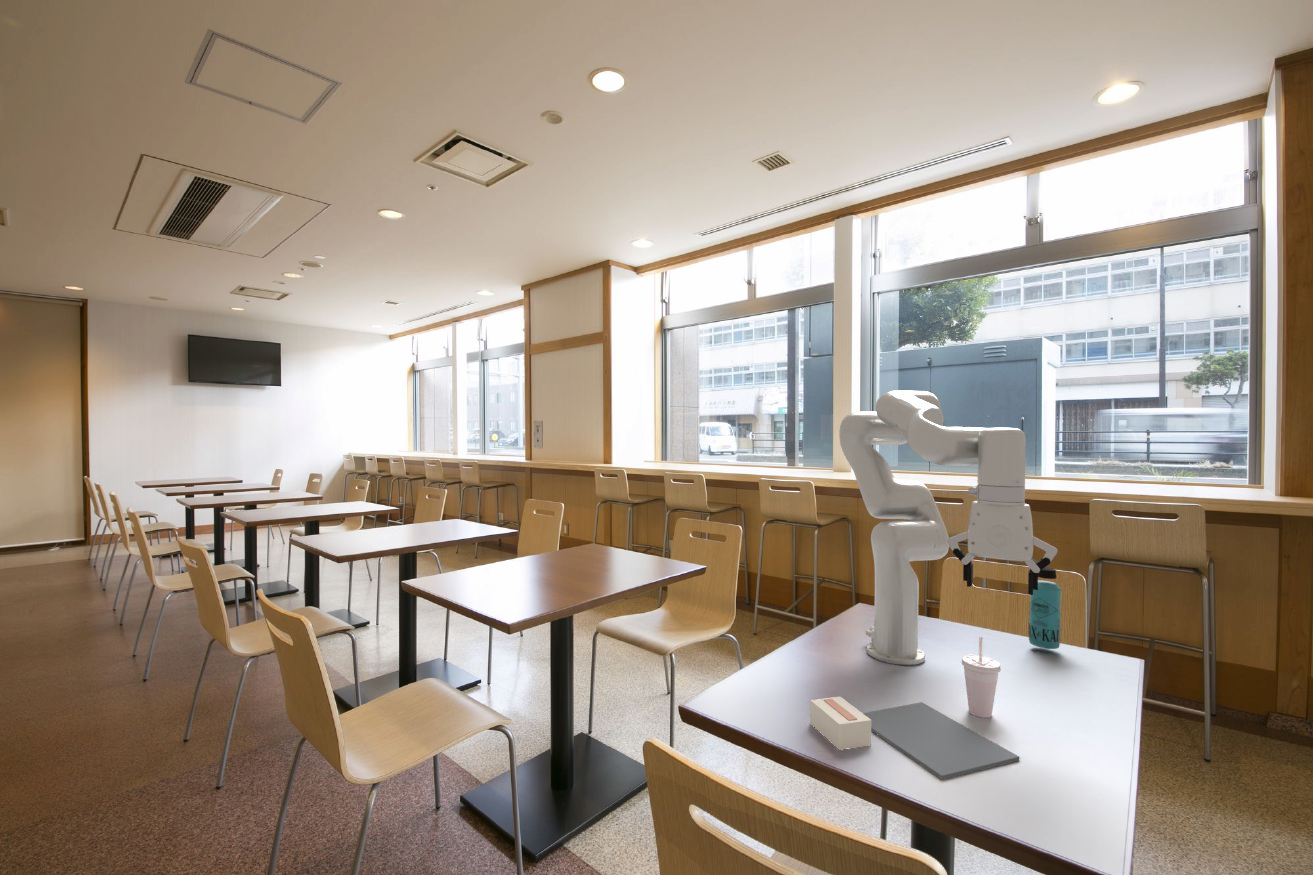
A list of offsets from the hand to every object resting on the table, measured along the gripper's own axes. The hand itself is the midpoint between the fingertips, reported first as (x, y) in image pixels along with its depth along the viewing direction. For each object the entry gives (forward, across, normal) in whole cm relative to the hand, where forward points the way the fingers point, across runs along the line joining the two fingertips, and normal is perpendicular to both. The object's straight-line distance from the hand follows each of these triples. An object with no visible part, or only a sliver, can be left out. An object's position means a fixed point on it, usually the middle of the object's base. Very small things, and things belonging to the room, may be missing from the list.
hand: (999, 589), depth 107 cm
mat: (+24, -9, -15) cm, 29 cm away
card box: (+24, -22, -23) cm, 40 cm away
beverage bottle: (+24, +7, +46) cm, 52 cm away
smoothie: (+24, -3, 0) cm, 24 cm away
